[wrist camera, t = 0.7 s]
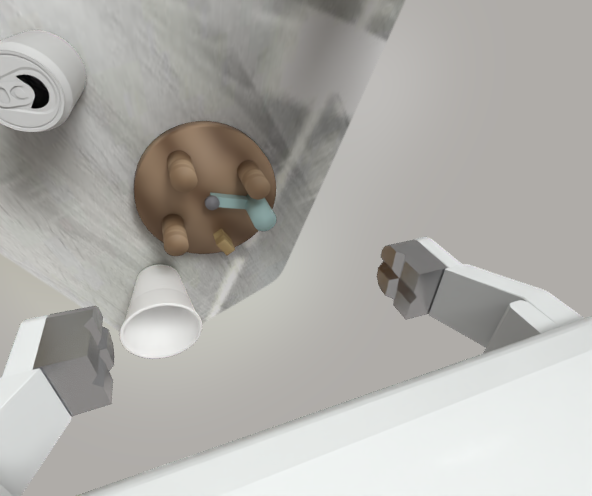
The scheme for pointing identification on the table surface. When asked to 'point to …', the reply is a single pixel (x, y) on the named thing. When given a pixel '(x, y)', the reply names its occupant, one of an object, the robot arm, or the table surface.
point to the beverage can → (38, 80)
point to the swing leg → (255, 208)
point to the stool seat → (200, 187)
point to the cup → (160, 315)
